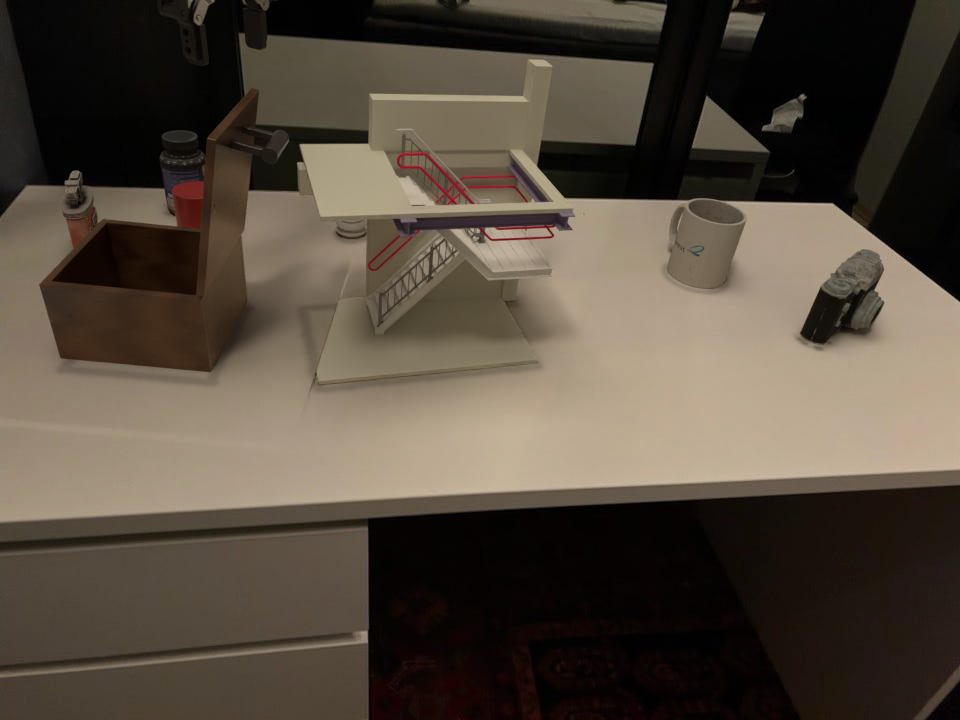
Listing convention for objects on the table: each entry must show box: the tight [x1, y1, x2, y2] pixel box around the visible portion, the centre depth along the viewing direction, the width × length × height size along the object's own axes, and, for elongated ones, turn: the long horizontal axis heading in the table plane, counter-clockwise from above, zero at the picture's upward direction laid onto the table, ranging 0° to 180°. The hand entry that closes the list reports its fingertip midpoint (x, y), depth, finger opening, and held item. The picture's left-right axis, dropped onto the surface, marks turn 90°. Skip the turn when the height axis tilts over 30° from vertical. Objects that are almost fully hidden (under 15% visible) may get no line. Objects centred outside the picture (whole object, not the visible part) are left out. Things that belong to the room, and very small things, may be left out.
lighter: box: [60, 170, 99, 250], centre depth 93 cm, size 8×3×10 cm, turn 16°
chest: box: [38, 218, 248, 373], centre depth 81 cm, size 16×15×10 cm
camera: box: [799, 248, 885, 346], centre depth 98 cm, size 15×7×10 cm, turn 137°
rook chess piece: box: [335, 220, 367, 239], centre depth 106 cm, size 4×4×8 cm
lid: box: [196, 87, 290, 296], centre depth 74 cm, size 16×15×5 cm
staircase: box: [296, 59, 576, 386], centre depth 80 cm, size 28×18×30 cm, turn 107°
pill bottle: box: [159, 129, 206, 216], centre depth 105 cm, size 6×6×11 cm
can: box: [172, 181, 204, 229], centre depth 99 cm, size 6×6×8 cm
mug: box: [666, 197, 748, 289], centre depth 108 cm, size 12×9×10 cm
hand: (228, 55), depth 74 cm, fingers open, 8 cm apart
